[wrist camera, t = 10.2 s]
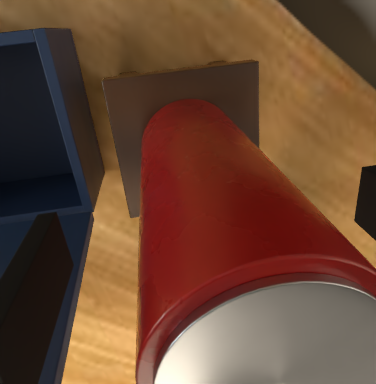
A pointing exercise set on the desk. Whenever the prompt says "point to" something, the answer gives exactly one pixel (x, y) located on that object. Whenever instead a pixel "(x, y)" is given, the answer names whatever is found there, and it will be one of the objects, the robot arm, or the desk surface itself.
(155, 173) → the can
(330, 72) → the desk surface
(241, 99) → the stool
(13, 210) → the navy blue box
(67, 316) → the lid
